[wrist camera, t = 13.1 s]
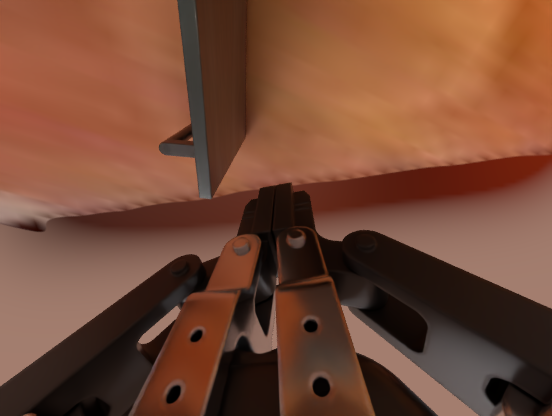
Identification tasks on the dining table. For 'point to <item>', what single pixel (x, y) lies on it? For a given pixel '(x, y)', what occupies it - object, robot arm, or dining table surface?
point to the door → (212, 88)
